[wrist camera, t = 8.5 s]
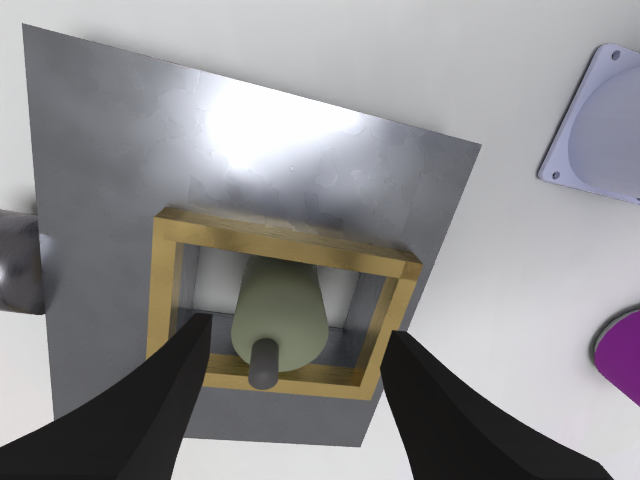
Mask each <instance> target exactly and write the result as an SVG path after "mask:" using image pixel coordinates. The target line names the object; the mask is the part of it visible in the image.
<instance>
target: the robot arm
mask: <svg viewBox="0 0 640 480" xmlns="http://www.w3.org/2000/svg"><path fill="white" fill-rule="evenodd" d="M613 53H614V56H613V58H611V56H612V54H613ZM554 172H555V175H554V177H552V175H553V173H554ZM538 177H539V179H541V180H543V181H547V182H551V183H555V184H559V185H563V186H567V187H571V188H575V189H579V190H583V191H587V192H591V193H595V194H599V195H603V196H607V197H611V198H615V199H619V200H623V201H627V202H631V203H635V204H639V205H640V53H638V52H636V51H633V50H630V49H627V48H625V47H622V46H619V45H616V44H614V43H607V44H604V45H601V46H600V47H599V48H598V50H597V51H596V53H595V55H594V57H593V59H592V61H591V64H590V66H589V68H588V70H587V72H586V74H585V76H584V78H583V80H582V82H581V85H580V87H579V89H578V91H577V93H576V95H575V97H574V99H573V101H572V103H571V105H570V108H569V110H568V112H567V114H566V116H565V118H564V120H563V122H562V124H561V126H560V129H559V131H558V133H557V135H556V137H555V139H554V141H553V143H552V145H551V147H550V150H549V152H548V154H547V156H546V158H545V160H544V162H543V164H542V166H541V168H540V170H539V173H538ZM212 318H213V314H207V313H195V314H193V315H192V316H191V317H190V318H189V320H188V321H187V322H186V323H185V324H184V325H183V326H182V327H181V328H180V329H179V330H178V331H177V332H176V333H175V334H174V335H173V336H172V337H171V338H170V339H169V340H168V341H167V342H166V343H165V344H164V345H163V346H162V347H161V348H160V349H158V350H157V351H156V352H155V353H154V354H153V355H151V356H150V357H149V358H148V359H147V360H146V361H144V362H143V363H142V364H141V365H140V366H138V367H137V368H136V369H135V370H133V371H132V372H131V373H129V374H128V375H127V376H125V377H124V378H123V379H121V380H120V381H119V382H117V383H116V384H114V385H113V386H111V387H110V388H108V389H107V390H105V391H104V392H102V393H101V394H99V395H98V396H96V397H95V398H93V399H91V400H90V401H88V402H87V403H85V404H83V405H82V406H80V407H78V408H77V409H75V410H73V411H71V412H70V413H68V414H66V415H64V416H62V417H60V418H59V419H57V420H55V421H53V422H51V423H49V424H47V425H45V426H43V427H42V428H40V429H38V430H36V431H34V432H31V433H29V434H27V435H25V436H23V437H21V438H19V439H17V440H15V441H12V442H10V443H8V444H6V445H4V446H2V447H0V480H171V476H172V472H173V468H174V465H175V461H176V457H177V454H178V451H179V448H180V445H181V442H182V439H183V436H184V434H185V431H186V428H187V426H188V423H189V420H190V417H191V415H192V412H193V409H194V406H195V404H196V401H197V398H198V396H199V393H200V390H201V387H202V384H203V381H204V377H205V373H206V369H207V365H208V361H209V357H210V344H211V331H212ZM380 373H381V377H382V382H383V386H384V391H385V394H386V397H387V400H388V403H389V405H390V408H391V411H392V414H393V417H394V419H395V422H396V425H397V427H398V430H399V433H400V436H401V438H402V441H403V444H404V447H405V450H406V453H407V456H408V459H409V462H410V466H411V470H412V474H413V478H414V480H614V479H613V478H612V477H611V476H610V475H609V473H608V472H607V471H606V470H605V469H604V468H603V466H602V465H601V464H600V463H598V462H596V461H594V460H592V459H590V458H588V457H586V456H584V455H582V454H580V453H578V452H576V451H574V450H572V449H569V448H567V447H565V446H563V445H561V444H559V443H557V442H556V441H554V440H552V439H550V438H548V437H546V436H545V435H543V434H541V433H539V432H537V431H535V430H534V429H532V428H530V427H529V426H527V425H525V424H523V423H522V422H520V421H519V420H517V419H515V418H514V417H512V416H511V415H509V414H507V413H506V412H504V411H503V410H501V409H500V408H498V407H497V406H495V405H494V404H492V403H491V402H490V401H488V400H487V399H485V398H484V397H483V396H481V395H480V394H479V393H477V392H476V391H475V390H473V389H472V388H471V387H469V386H468V385H467V384H466V383H464V382H463V381H462V380H461V379H460V378H458V377H457V376H456V375H455V374H453V373H452V372H451V371H450V370H449V369H448V368H447V367H445V366H444V365H443V364H442V363H441V362H440V361H439V360H438V359H436V358H435V357H434V356H433V355H432V354H431V353H430V352H429V351H428V350H427V349H425V348H424V347H423V346H422V345H421V344H420V343H419V342H418V341H417V340H416V339H415V338H413V337H412V336H411V335H410V334H409V333H407V332H406V331H398V330H392V332H391V335H390V338H389V341H388V344H387V347H386V350H385V353H384V356H383V359H382V362H381V366H380Z"/></svg>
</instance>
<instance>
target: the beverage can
mask: <svg viewBox="0 0 640 480" xmlns="http://www.w3.org/2000/svg"><path fill="white" fill-rule="evenodd" d="M594 351H595V365H596V367H597V369H598V371H599V372H600V373H601V374H602V375H603V376H604V377H605V378H606V379H607V380H608V381H610V382H611V383H612V384H613V385H614V386H616V387H617V388H618V389H619V390H620V391H622V392H623V393H624V394H625V395H626V396H628V397H629V398H630V399H631V400H632V401H634V402H635V403H636V404H637V405H638V406H640V309H638V310H633V311H630V312H627V313H625V314H623V315H621V316H619V317H618V318H616V319H614V320H613V321H612V322H611V323H610V324H608V325H607V326H606V327H605V328H604V329H603V331H602V332H601V334H600V335H599V336H598V338H597V341H596V344H595V346H594Z"/></svg>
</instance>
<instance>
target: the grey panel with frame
mask: <svg viewBox="0 0 640 480" xmlns="http://www.w3.org/2000/svg"><path fill="white" fill-rule="evenodd" d="M22 30H23V42H24V55H25V67H26V79H27V92H28V104H29V116H30V129H31V141H32V153H33V166H34V178H35V190H36V203H37V215H38V216H37V215H31V214H25V213H19V212H13V211H7V210H1V209H0V311H8V312H16V313H25V314H34V315H43V314H46V326H47V338H48V351H49V363H50V375H51V388H52V400H53V412H54V421H55V420H57V419H59V418H60V417H62V416H64V415H66V414H68V413H70V412H71V411H73V410H75V409H77V408H78V407H80V406H82V405H83V404H85V403H87V402H88V401H90V400H91V399H93V398H95V397H96V396H98V395H99V394H101V393H102V392H104V391H105V390H107V389H108V388H110V387H111V386H113V385H114V384H116V383H117V382H119V381H120V380H121V379H123V378H124V377H125V376H127V375H128V374H129V373H131V372H132V371H133V370H135V369H136V368H137V367H138V366H140V365H141V364H142V363H143V362H144V361H146V360H147V359H148V358H149V357H150V356H151V355H153V354H154V353H155V352H156V351H157V350H158V349H160V348H161V347H162V346H163V345H164V344H165V343H166V342H167V341H168V340H169V339H170V338H171V337H172V336H173V335H174V334H175V333H176V332H177V331H178V330H179V329H180V328H181V327H182V326H183V325H184V324H185V323H186V322H187V321H188V320H189V318H190V317H191V316H192V315H193V314H195V313H207V314H213V318H212V331H211V344H210V357H209V361H208V365H207V369H206V373H205V377H204V381H203V384H202V387H201V390H200V393H199V396H198V398H197V401H196V404H195V406H194V409H193V412H192V415H191V417H190V420H189V423H188V426H187V428H186V431H185V434H184V436H183V438H198V439H216V440H235V441H253V442H271V443H290V444H308V445H326V446H345V447H361V444H362V442H363V439H364V437H365V434H366V432H367V429H368V427H369V424H370V422H371V419H372V417H373V414H374V412H375V409H376V407H377V404H378V402H379V399H380V397H381V394H382V392H383V389H384V386H383V382H382V377H381V373H380V366H381V362H382V359H383V356H384V353H385V350H386V347H387V344H388V341H389V338H390V335H391V332H392V330H398V331H406V332H407V330H408V327H409V325H410V322H411V320H412V317H413V315H414V312H415V310H416V307H417V305H418V302H419V300H420V297H421V295H422V292H423V290H424V287H425V285H426V283H427V280H428V278H429V275H430V273H431V270H432V268H433V265H434V263H435V260H436V258H437V255H438V253H439V250H440V248H441V245H442V243H443V240H444V238H445V235H446V233H447V230H448V228H449V225H450V223H451V220H452V218H453V215H454V213H455V210H456V208H457V205H458V203H459V200H460V198H461V195H462V193H463V191H464V188H465V186H466V183H467V181H468V178H469V176H470V173H471V171H472V168H473V166H474V163H475V161H476V158H477V156H478V153H479V151H480V148H481V146H482V145H481V144H478V143H474V142H470V141H466V140H462V139H459V138H455V137H451V136H447V135H444V134H440V133H436V132H432V131H428V130H425V129H421V128H417V127H413V126H409V125H406V124H402V123H398V122H394V121H391V120H387V119H383V118H379V117H375V116H372V115H368V114H364V113H360V112H356V111H353V110H349V109H345V108H341V107H338V106H334V105H330V104H326V103H322V102H319V101H315V100H311V99H307V98H304V97H300V96H296V95H292V94H288V93H285V92H281V91H277V90H273V89H269V88H266V87H262V86H258V85H254V84H251V83H247V82H243V81H239V80H235V79H232V78H228V77H224V76H220V75H216V74H213V73H209V72H205V71H201V70H198V69H194V68H190V67H186V66H182V65H179V64H175V63H171V62H167V61H163V60H160V59H156V58H152V57H148V56H145V55H141V54H137V53H133V52H129V51H126V50H122V49H118V48H114V47H111V46H107V45H103V44H99V43H95V42H92V41H88V40H84V39H80V38H76V37H73V36H69V35H65V34H61V33H58V32H54V31H50V30H46V29H42V28H39V27H35V26H31V25H27V24H23V23H22ZM199 245H200V246H206V247H212V248H218V249H224V250H230V251H236V252H242V253H248V254H254V255H260V256H266V257H273V258H279V259H285V260H291V261H297V262H303V263H309V264H315V265H321V266H327V267H333V268H339V269H346V270H352V271H358V272H361V275H360V278H359V281H358V284H357V287H356V290H355V294H354V297H353V300H352V303H351V306H350V309H349V313H348V316H347V319H346V322H345V325H344V328H343V329H342V328H334V327H328V329H329V333H328V339H327V342H326V345H325V347H324V349H323V350H322V352H321V353H320V354H319V355H318V356H317V357H316V358H315V359H314V360H313V361H311V362H310V363H308V364H307V365H305V366H303V367H301V368H298V369H295V370H291V371H285V372H278V382H277V384H276V385H275V386H274V387H272V388H270V389H267V390H258V389H255V388H253V387H252V386H251V385H250V384H249V382H248V375H249V367H250V364H248V363H247V362H245V361H244V360H243V359H242V358H241V357H240V356H239V355H238V354H237V352H236V350H235V349H234V346H233V344H232V339H231V329H232V324H233V319H234V315H232V314H224V313H216V312H208V311H201V310H193V309H192V306H193V297H194V288H195V278H196V269H197V260H198V251H199Z"/></svg>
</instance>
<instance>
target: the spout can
mask: <svg viewBox="0 0 640 480" xmlns="http://www.w3.org/2000/svg"><path fill="white" fill-rule="evenodd" d="M328 333H329V329H328V322H327V318H326V313H325V308H324V304H323V299H322V294H321V290H320V285H319V281H318V276H317V271H316V267H315V265H314V264H309V263H303V262H297V261H291V260H285V259H279V258H273V257H266V256H260V255H253V256H252V257H251V259H250V260H249V261H248V263H247V265H246V267H245V271H244V275H243V280H242V284H241V288H240V293H239V297H238V302H237V306H236V311H235V315H234V319H233V324H232V329H231V339H232V344H233V346H234V349H235V350H236V352H237V354H238V355H239V356H240V357H241V358H242V359H243V360H244V361H245V362H247V363H248V364H250V367H249V375H248V382H249V384H250V385H251V386H252V387H253V388H255V389H258V390H267V389H270V388H272V387H274V386H275V385H276V384H277V382H278V372H285V371H291V370H295V369H298V368H301V367H303V366H305V365H307V364H308V363H310V362H311V361H313V360H314V359H315V358H316V357H317V356H318V355H319V354H320V353H321V352H322V350H323V349H324V347H325V345H326V342H327V339H328Z"/></svg>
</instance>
